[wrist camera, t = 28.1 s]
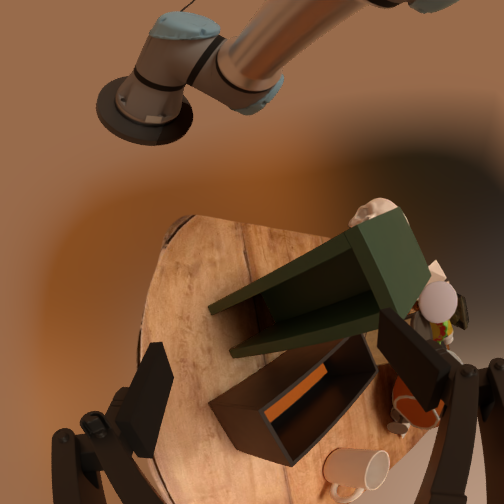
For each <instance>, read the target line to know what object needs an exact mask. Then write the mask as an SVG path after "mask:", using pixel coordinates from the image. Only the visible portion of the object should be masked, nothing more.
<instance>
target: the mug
mask: <svg viewBox="0 0 504 504" xmlns="http://www.w3.org/2000/svg"><path fill="white" fill-rule="evenodd" d="M389 466H390V459H389V455H388V453H387V452H386V451H384V450H364V449H350V448H340V449H337V450H335V451H333V452H332V453H331V454H330V455H329V457H328V458H327V460H326V462H325V465H324V477H325V479H326V480H327V481H328V482H330V483H332V485H331V487H330V496H331V498H332V499H333V500H334V501H336V502H338V503H348V502H351V501H354V500H355V499H357V498H358V497H359V496H360V495H361V494H362V492H363V491H364V489H365V490H375V489H377V488H378V487H379V486H380V485H381V484H382V483H383V482H384V480H385V478H386V476H387V474H388V471H389ZM339 485H341V486H346V487H352V488H356V490H355V491H354V493H353V494H352V495H350V496H348V497H340V496H339V495H338V494H337V488H338V486H339Z"/></svg>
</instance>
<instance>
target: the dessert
mask: <svg viewBox="0 0 504 504" xmlns="http://www.w3.org/2000/svg"><path fill="white" fill-rule="evenodd" d="M393 409H395V408H394V406H393V407H392V409H391V411H392V410H393ZM391 411H390V412H391ZM393 418H394V417H393ZM394 420H395V419H394ZM395 422H397V421H396V420H395ZM402 424H404V425H406V426H407V428H409V426H410V423H402ZM405 434H406V433H405ZM405 434H401V435H402V438H404V436H405Z"/></svg>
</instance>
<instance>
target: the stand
mask: <svg viewBox="0 0 504 504" xmlns="http://www.w3.org/2000/svg"><path fill="white" fill-rule="evenodd" d="M431 276H432V275H431V273H430V270H429V268H428V265H427V263H426V261H425V258H424V256H423V254H422V252H421V249H420V247H419V245H418V243H417V241H416V239H415V236H414V234H413V232H412V230H411V228H410V226H409V224H408V222H407V220H406V218H405V216H404V214H403V212H402V210H401V208H400V207H397V208H395V209H392V210H390V211H388V212H385V213H383V214H381V215H378V216H376V217H373V218H371V219H369V220H366V221H364V222H362V223H359V224H357V225H355V226H353V227H352V228H350V229H348V230H347V231H345V232H343V233H341V234H340V235H338V236H336V237H334V238H332V239H331V240H329V241H327V242H325V243H324V244H322V245H320V246H318V247H316V248H315V249H313V250H311V251H309V252H307V253H306V254H304V255H302V256H300V257H298V258H297V259H295V260H293V261H291V262H289V263H288V264H286V265H284V266H282V267H280V268H278V269H277V270H275V271H273V272H271V273H269V274H267V275H266V276H264V277H262V278H260V279H258V280H256V281H254V282H253V283H251V284H249V285H247V286H245V287H243V288H241V289H239V290H238V291H236V292H234V293H232V294H230V295H228V296H226V297H224V298H222V299H221V300H219V301H217V302H215V303H213V304H211V305H209V306H208V309H209V311H210V313H211V315H213V314H216V313H218V312H220V311H222V310H224V309H227V308H229V307H231V306H233V305H236V304H238V303H240V302H242V301H244V300H246V299H249V298H251V297H253V296H255V295H257V294H259V293H261V295H262V297H263V299H264V301H265V303H266V305H267V307H268V309H269V311H270V313H271V315H272V317H273V319H274V321H275V323H274V324H273V325H271V326H269V327H268V328H266V329H264V330H263V331H261V332H259V333H258V334H256V335H254V336H253V337H251V338H249V339H248V340H246V341H244V342H242V343H241V344H239V345H237V346H236V347H234V348H232V349H230V350H229V351H230V353H231V355H232V357H233V358H241V357H248V356H254V355H261V354H267V353H273V352H279V351H284V350H290V349H295V348H300V347H305V346H310V345H315V344H320V343H324V342H329V341H333V340H338V339H342V338H346V337H350V336H354V335H358V334H362V333H366V332H370V331H374V330H377V329H378V326H379V311H380V310H381V309H385V308H389V307H390V308H392V309H393V310H394V311H395V312H396V313H397V314H398V315H399V316H400V317H401V318H402V319H405V317H406V316H407V314H408V313H409V311H410V310H411V308H412V307H413V305H414V304H415V302H416V300H417V299H418V297H419V296H420V294H421V292H422V291H423V289H424V288H425V286H426V284H427V283H428V281H429V279H430V277H431Z"/></svg>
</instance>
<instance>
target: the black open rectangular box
mask: <svg viewBox="0 0 504 504" xmlns="http://www.w3.org/2000/svg"><path fill="white" fill-rule="evenodd" d="M322 363H323V364H324V366H325V368H326V370H327V373H326V374H325V375H324V376H323V377H322V378H321V379H320V380H319V381H318V382H316V383H315V384H314V385H313V386H312V387H311V388H310V389H309V390H308V391H307V392H306V393H304V394H303V395H302V396H301V397H300V398H299V399H298V400H297V401H295V402H294V403H293V404H292V405H291V406H290V407H288V408H287V409H286V410H285V411H284V412H283V413H281V414H280V415H279V416H278V417H276V418H275V419H274V420H273V421H272V422H269V420H268V418H267V416H266V415H265V413H264V412H265V411H266V410H267V409H269V408H270V407H271V406H272V405H274V404H275V403H276V402H278V401H279V400H280V399H281V398H283V397H284V396H285V395H286V394H287V393H289V392H290V391H291V390H292V389H294V388H295V387H296V386H297V385H298V384H300V383H301V382H302V381H303V380H304V379H305V378H307V377H308V376H309V375H310V374H311V373H312V372H313V371H315V370H316V369H317V368H318V367H319V366H320V365H321V364H322ZM378 372H379V370H378V368H377V365H376V363H375V361H374V358H373V356H372V353H371V351H370V349H369V346H368V344H367V341H366V339H365V337H364V334H363V333H362V334H358V335H354V336H350V337H346V338H342V339H338V340H333V341H329V342H324V343H320V344H315V345H310V346H305V347H300V348H295V349H290V350H287V351H286V352H285V353H283V354H282V355H280V356H279V357H278V358H276V359H275V360H273V361H272V362H270V363H269V364H268V365H266V366H265V367H263V368H262V369H260V370H259V371H257V372H256V373H254V374H253V375H251V376H250V377H248V378H247V379H245V380H244V381H242V382H241V383H239V384H238V385H236V386H234V387H233V388H231V389H230V390H228V391H227V392H225V393H223V394H222V395H220V396H218V397H217V398H215V399H214V400H212V401H210V402H209V403H208V404H209V405H210V407H211V409H212V411H213V412H214V414H215V416H216V417H217V419H218V421H219V422H220V424H221V426H222V427H223V429H224V431H225V432H226V434H227V435H228V437H229V439H230V440H231V442H232V443H233V445H234V446H235V448H236V449H237V450H239V451H242V452H244V453H247V454H250V455H253V456H256V457H259V458H262V459H265V460H268V461H272V462H275V463H278V464H282V465H285V466H289V467H293V466H294V465H295V464H296V463H297V462H298V461H299V460H300V459H301V458H302V457H303V456H304V455H306V454H307V453H308V452H309V451H310V450H311V449H312V448H313V447H314V446H315V445H316V444H317V443H318V442H319V441H320V440H321V439H322V438H323V437H324V436H325V435H326V433H327V432H328V431H329V430H330V429H331V428H332V427H333V426H334V425H335V424H336V423H337V422H338V421H339V419H340V418H341V417H342V416H343V415H344V414H345V413H346V411H347V410H348V409H349V408H350V407H351V406H352V404H353V403H354V402H355V401H356V400H357V398H358V397H359V396H360V395H361V394H362V392H363V391H364V390H365V389H366V387H367V386H368V385H369V384H370V382H371V381H372V380H373V378H374V377H375V376H376V374H377V373H378Z"/></svg>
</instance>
